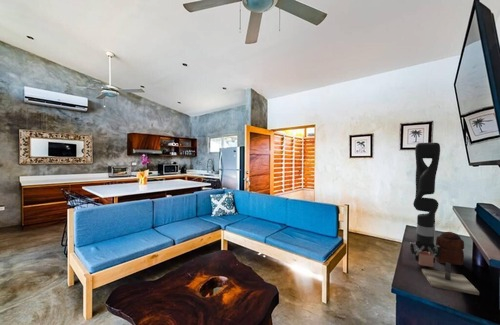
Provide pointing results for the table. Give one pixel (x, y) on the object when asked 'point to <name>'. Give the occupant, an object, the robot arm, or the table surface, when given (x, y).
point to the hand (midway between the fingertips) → (424, 262)
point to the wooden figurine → (450, 248)
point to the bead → (426, 258)
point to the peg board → (449, 280)
